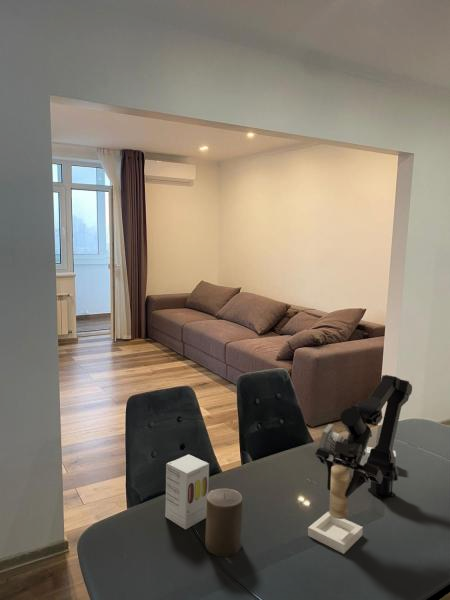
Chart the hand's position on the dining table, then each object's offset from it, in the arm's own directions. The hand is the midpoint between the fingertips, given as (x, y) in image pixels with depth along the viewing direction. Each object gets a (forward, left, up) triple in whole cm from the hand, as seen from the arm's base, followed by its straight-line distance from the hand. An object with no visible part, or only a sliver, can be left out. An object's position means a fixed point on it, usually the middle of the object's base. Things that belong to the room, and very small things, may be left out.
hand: (337, 493), depth 124 cm
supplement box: (+35, -25, -14) cm, 45 cm away
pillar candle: (+30, -9, -14) cm, 34 cm away
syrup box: (-48, -26, -10) cm, 56 cm away
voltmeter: (-30, -41, -14) cm, 53 cm away
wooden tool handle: (-1, -1, -7) cm, 7 cm away
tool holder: (-1, -1, -13) cm, 13 cm away
